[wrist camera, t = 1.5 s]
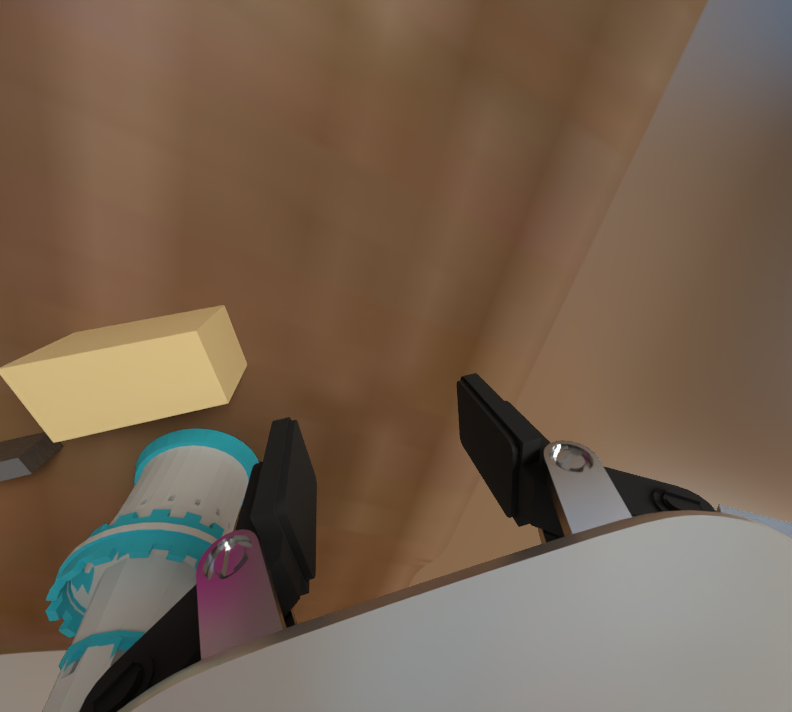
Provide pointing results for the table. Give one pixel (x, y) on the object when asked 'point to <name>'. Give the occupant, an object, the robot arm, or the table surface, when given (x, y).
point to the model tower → (145, 553)
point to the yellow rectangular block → (129, 373)
